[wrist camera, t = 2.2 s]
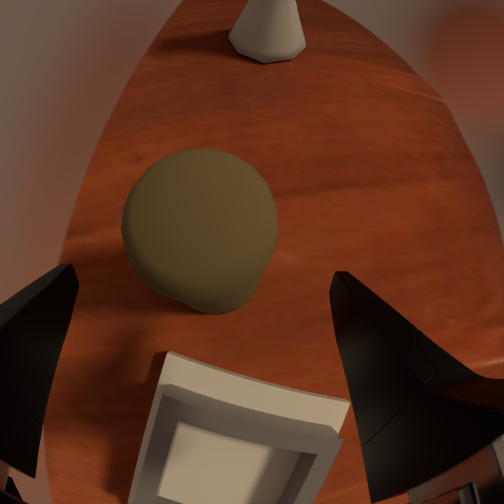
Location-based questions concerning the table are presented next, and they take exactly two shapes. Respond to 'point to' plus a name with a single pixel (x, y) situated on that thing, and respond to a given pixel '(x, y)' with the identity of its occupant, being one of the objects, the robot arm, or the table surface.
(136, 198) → the cork
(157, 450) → the socket
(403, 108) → the table surface
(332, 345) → the table surface
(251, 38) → the flask
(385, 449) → the robot arm
